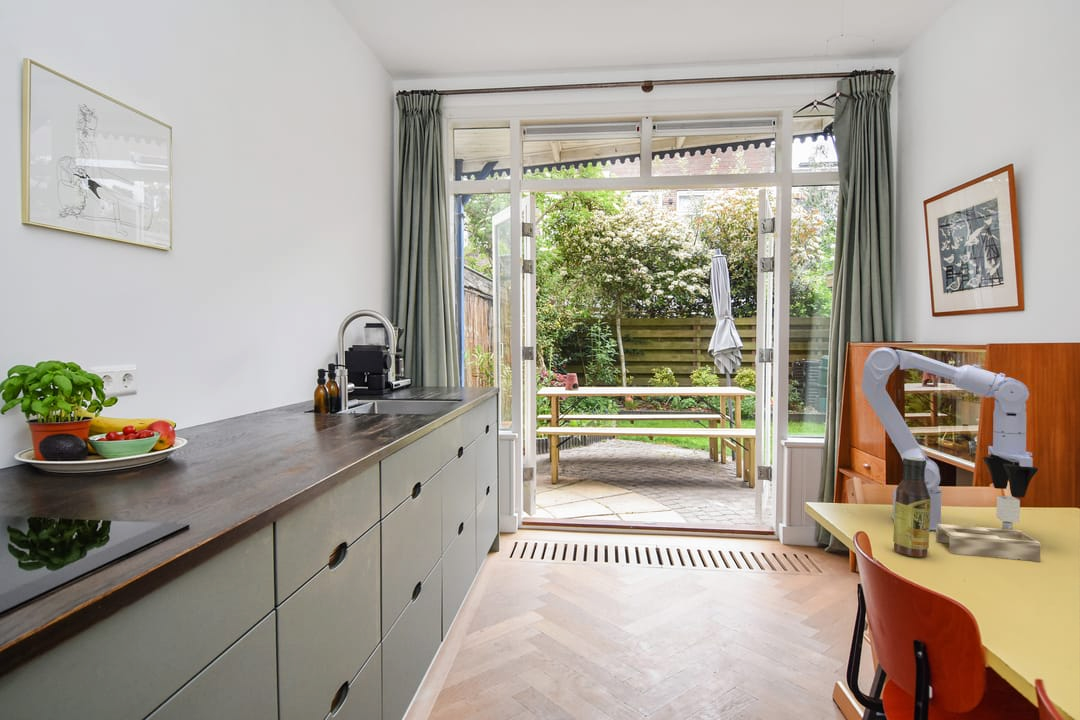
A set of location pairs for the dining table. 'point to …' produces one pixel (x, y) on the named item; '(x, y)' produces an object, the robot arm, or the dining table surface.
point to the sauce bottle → (912, 510)
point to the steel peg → (1008, 511)
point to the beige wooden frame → (988, 542)
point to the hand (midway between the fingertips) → (1008, 492)
